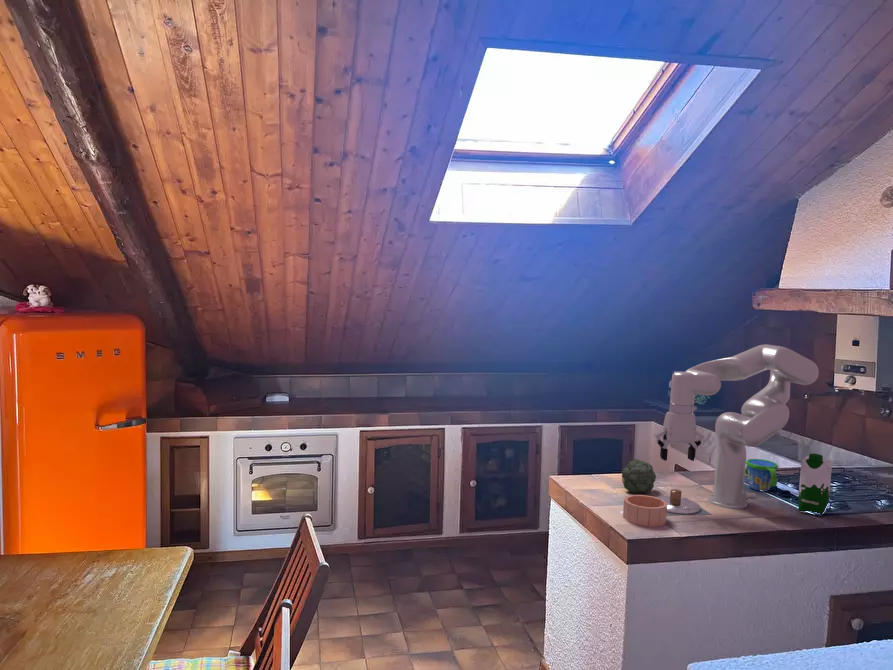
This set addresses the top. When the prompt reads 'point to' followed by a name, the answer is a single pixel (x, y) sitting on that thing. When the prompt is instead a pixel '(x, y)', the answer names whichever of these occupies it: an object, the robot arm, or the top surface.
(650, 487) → the vegetable
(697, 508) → the lid
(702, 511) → the mat
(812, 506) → the milk carton
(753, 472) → the snack cup
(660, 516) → the bowl
